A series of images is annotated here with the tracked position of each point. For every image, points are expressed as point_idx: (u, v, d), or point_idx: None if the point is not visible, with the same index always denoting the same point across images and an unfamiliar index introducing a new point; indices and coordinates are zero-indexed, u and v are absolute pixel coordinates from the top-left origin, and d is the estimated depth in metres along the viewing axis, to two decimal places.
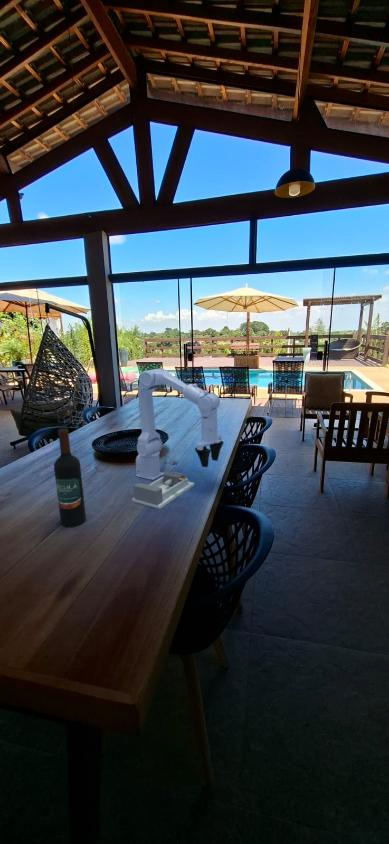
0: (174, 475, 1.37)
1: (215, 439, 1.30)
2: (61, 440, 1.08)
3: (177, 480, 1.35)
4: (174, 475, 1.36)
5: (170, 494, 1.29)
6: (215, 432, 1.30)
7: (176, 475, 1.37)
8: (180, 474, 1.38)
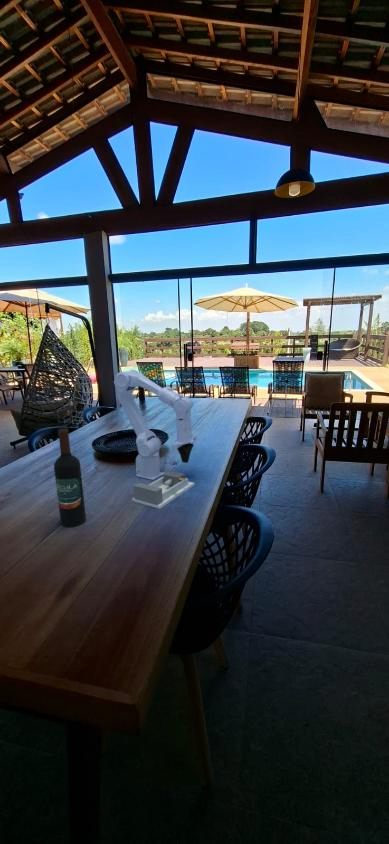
0: (174, 475, 1.37)
1: (189, 439, 1.40)
2: (61, 440, 1.08)
3: (177, 480, 1.35)
4: (174, 475, 1.36)
5: (170, 494, 1.29)
6: (189, 433, 1.39)
7: (176, 475, 1.37)
8: (180, 474, 1.38)
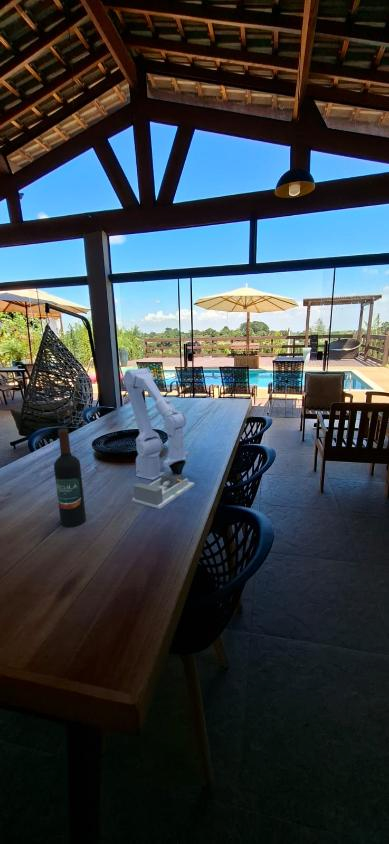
0: (172, 476, 1.36)
1: (181, 456, 1.36)
2: (61, 440, 1.08)
3: (175, 481, 1.34)
4: (172, 477, 1.35)
5: (170, 494, 1.29)
6: (181, 450, 1.36)
7: (174, 476, 1.36)
8: (178, 475, 1.37)
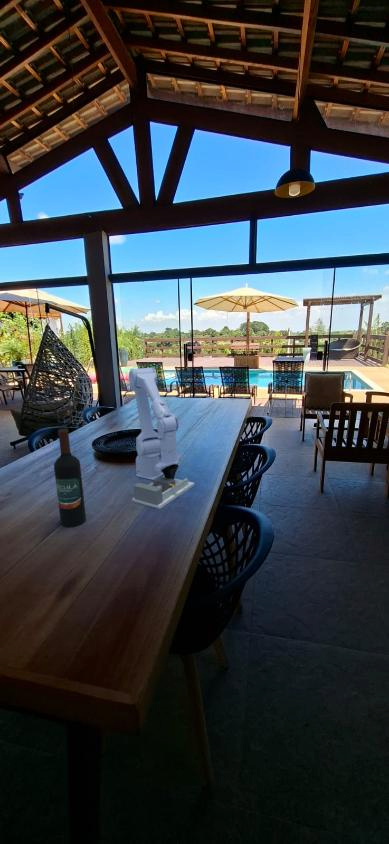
0: (164, 481, 1.32)
1: (174, 460, 1.32)
2: (61, 440, 1.08)
3: (167, 486, 1.30)
4: (165, 481, 1.31)
5: (170, 494, 1.29)
6: (174, 453, 1.32)
7: (166, 481, 1.32)
8: (171, 480, 1.33)
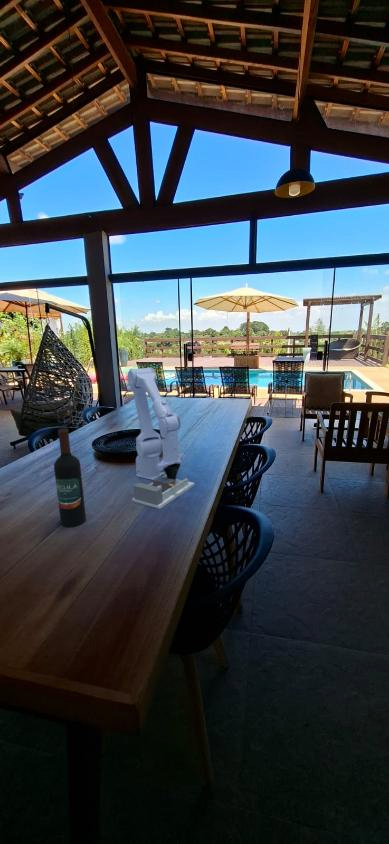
0: (164, 481, 1.32)
1: (176, 459, 1.33)
2: (61, 440, 1.08)
3: (167, 486, 1.30)
4: (164, 481, 1.31)
5: (170, 494, 1.29)
6: (175, 452, 1.33)
7: (166, 481, 1.32)
8: (170, 480, 1.32)
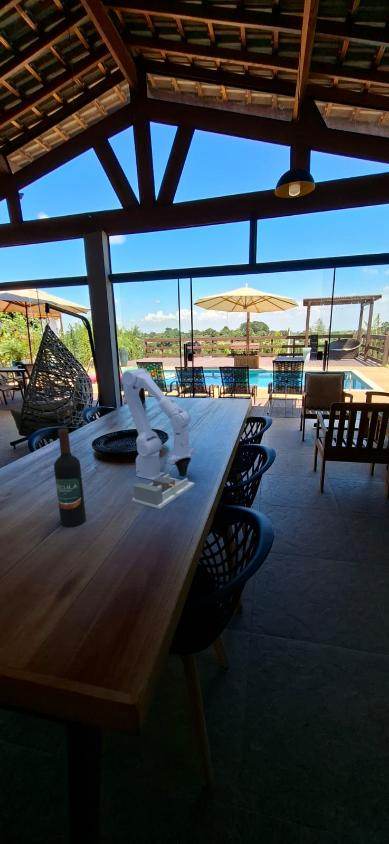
0: (164, 481, 1.32)
1: (187, 453, 1.40)
2: (61, 440, 1.08)
3: (167, 486, 1.30)
4: (164, 481, 1.31)
5: (170, 494, 1.29)
6: (186, 447, 1.39)
7: (166, 481, 1.32)
8: (170, 480, 1.32)
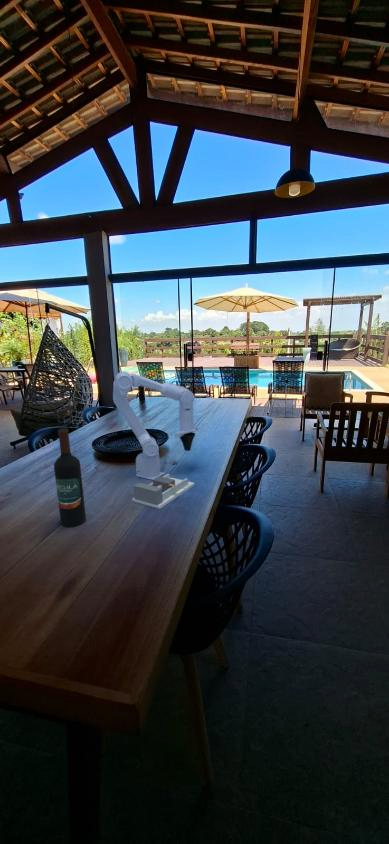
0: (164, 481, 1.32)
1: (191, 428, 1.48)
2: (61, 440, 1.08)
3: (167, 486, 1.30)
4: (164, 481, 1.31)
5: (170, 494, 1.29)
6: (191, 422, 1.48)
7: (166, 481, 1.32)
8: (170, 480, 1.32)
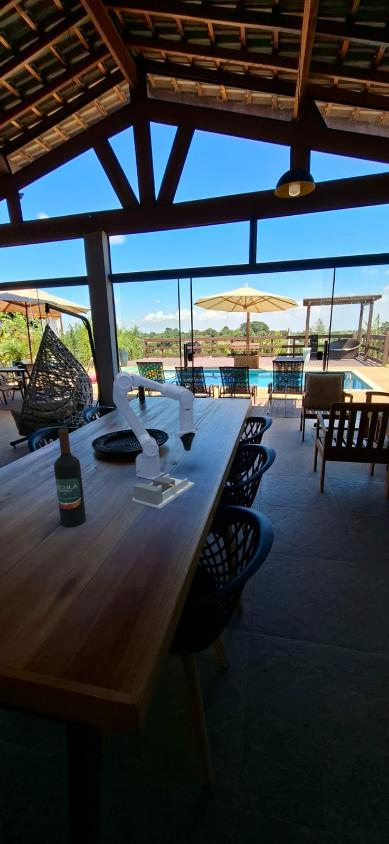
0: (164, 481, 1.32)
1: (191, 428, 1.48)
2: (61, 440, 1.08)
3: (167, 486, 1.30)
4: (164, 481, 1.31)
5: (170, 494, 1.29)
6: (191, 422, 1.48)
7: (166, 481, 1.32)
8: (170, 480, 1.32)
